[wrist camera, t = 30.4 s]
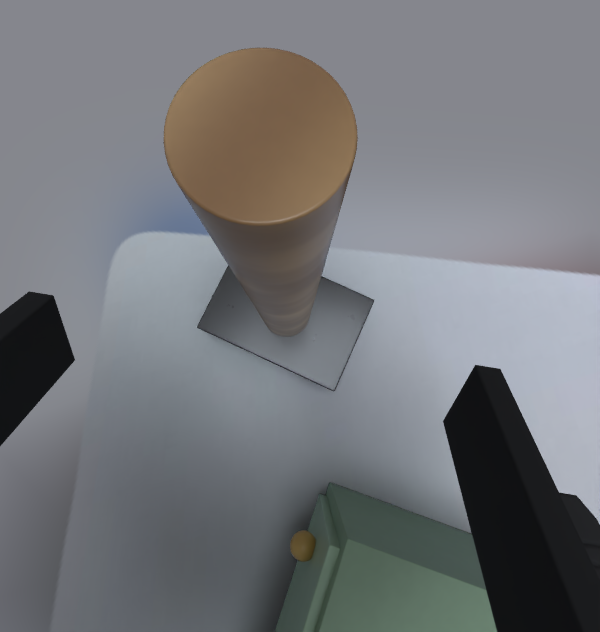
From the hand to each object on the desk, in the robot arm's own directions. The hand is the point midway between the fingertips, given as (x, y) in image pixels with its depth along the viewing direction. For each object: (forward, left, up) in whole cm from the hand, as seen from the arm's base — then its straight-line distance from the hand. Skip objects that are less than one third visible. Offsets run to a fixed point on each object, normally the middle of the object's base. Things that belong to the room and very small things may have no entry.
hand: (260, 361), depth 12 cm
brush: (0, +3, -13) cm, 13 cm away
